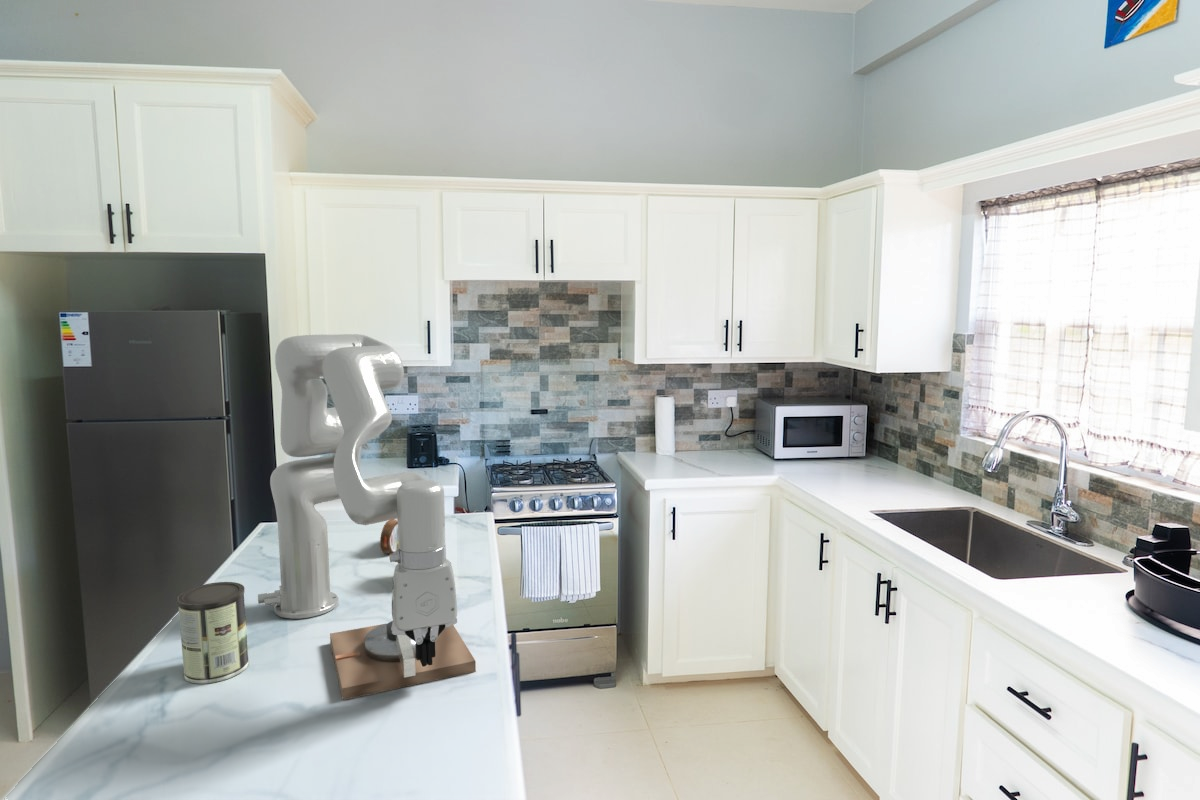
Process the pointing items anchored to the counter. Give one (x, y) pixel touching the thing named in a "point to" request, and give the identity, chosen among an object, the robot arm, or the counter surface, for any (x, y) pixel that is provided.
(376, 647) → the dial
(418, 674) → the dial board
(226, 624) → the coffee can
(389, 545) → the tin
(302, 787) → the counter surface
